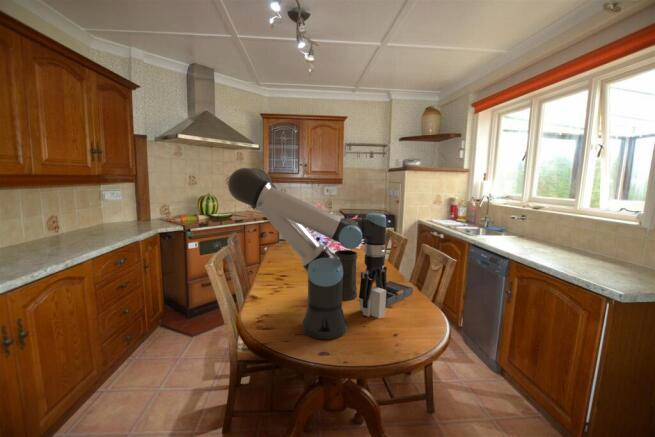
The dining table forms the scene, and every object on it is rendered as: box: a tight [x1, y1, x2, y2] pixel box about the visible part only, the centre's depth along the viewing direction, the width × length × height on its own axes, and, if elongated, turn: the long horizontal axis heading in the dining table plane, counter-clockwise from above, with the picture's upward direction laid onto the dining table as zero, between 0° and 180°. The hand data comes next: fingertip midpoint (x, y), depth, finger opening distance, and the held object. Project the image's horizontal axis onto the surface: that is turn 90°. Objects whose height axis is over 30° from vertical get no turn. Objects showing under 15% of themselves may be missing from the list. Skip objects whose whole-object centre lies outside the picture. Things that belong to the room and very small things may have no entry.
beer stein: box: [334, 249, 358, 301], centre depth 134 cm, size 15×11×20 cm
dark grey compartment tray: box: [383, 280, 414, 308], centre depth 133 cm, size 20×12×4 cm, turn 135°
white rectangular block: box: [359, 285, 386, 319], centre depth 116 cm, size 4×9×10 cm, turn 45°
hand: (372, 312), depth 117 cm, fingers open, 7 cm apart
